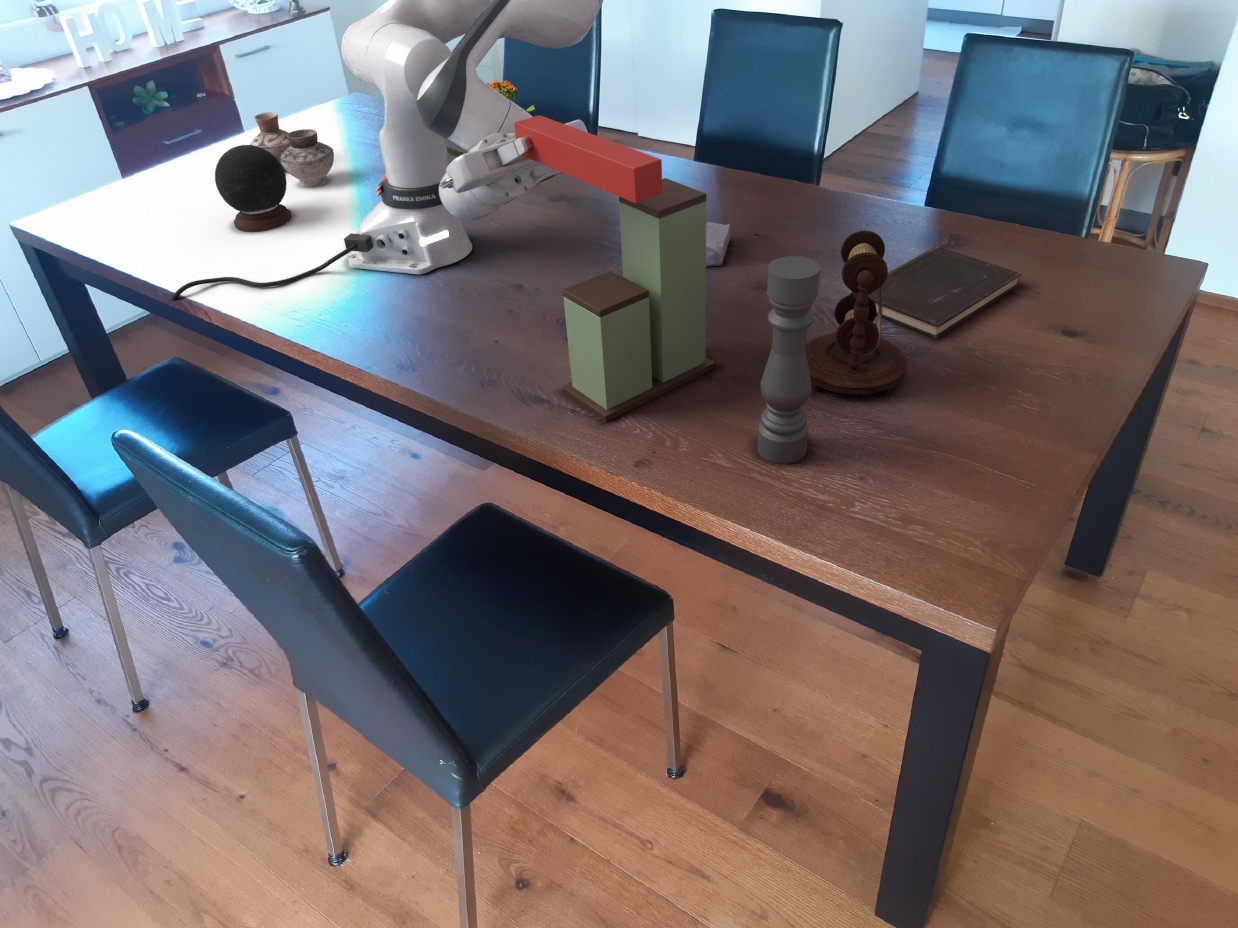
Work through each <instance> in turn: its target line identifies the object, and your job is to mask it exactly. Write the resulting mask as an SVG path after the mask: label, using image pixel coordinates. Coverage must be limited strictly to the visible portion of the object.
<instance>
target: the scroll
mask: <svg viewBox="0 0 1238 928" xmlns="http://www.w3.org/2000/svg"><path fill="white" fill-rule="evenodd" d="M885 252H886V245H885V242H884V240H883V239H882V237H881V236H880V235H879V234H878V233H876V232H874V231H871V230H858V231H855V232H853V233H851V234H849V235H848V236H847V237H846V238H845V239H844V241H843V243H842V245H841V248H840V256H841V260H842V262H843V263H844V264H843V267H842V269H841V279H842V282H843V284H844V286H845V288H846V289H848V290H849V291H850V293H852V294H851V295H850V294H847V295H846V296H844V297H843V298H841V299H840V300H839V301H838V302H837V304H836V306H835V308H834V318H835V321H836V322H837V324H838V325H839V326H838V327H837V329H836V331H835V332H830V333H827V334H823V335H820V336H817V337H814V338H813V339H811V340H809V341H806V346H805V351H806V357H807V362H808V368H809V373H810V378H811V384H812V389H813V390H814V392H818V391H819V390H820V389H824V390H827V391H830V392H833V393H839V394H846V395H870V394H876V393H881V392H883V393H884V395H886V396H888V395H889V394H890V393H891V392H892V389H893V388H894V387H895V386H897V385H898V384H899V383H901V382H902V381H903V380H904V378H905V376H906V374H907V368H908V359H907V357H906V355H905V353H904V352H903V351H902V350H901V349H900V347H899V346H897V345H895V344H894V343H892V342H891V341H888V340H886V339H885V338H882V329H883V327H882V326H883V325H882V324H883V318H882V287H881V286H882V285H883V284H884V282H885V281H886V279H887V275H888V272H889V268H888V265H887V262H886V261H885V259H884V256H885ZM875 290H878V316H877V315H876V314H877V309H876V305H875V303H874V301H873V300H872V299H871V298H869V297H868V296H869V295H871V294H872V293H873V292H874V291H875ZM876 317H877V318H876ZM875 319H876V321H875ZM874 321H875V323H874Z"/></svg>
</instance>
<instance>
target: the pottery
mask: <svg viewBox="0 0 1238 928" xmlns="http://www.w3.org/2000/svg"><path fill="white" fill-rule="evenodd" d="M253 118H254V121H255V122H256V124H257V126H258V128H259V133H258V134H257V135H256V136H255V137H254V138H253V139H252V140H251V142H250V145H254V146H258V147H261V148H263V149H265V150H267V151H268V152H270V153H271V154H273V155H274V156H275V157H276V159H277V160H278V161H279V162H280V164H281V165H282V167H283V169H284V172H287V173H288V174H290V176H292V177H294V178H295V179H297V180H299V184H300V186H302V187H305V188H311V187H313V188H314V187H318V186H321V185H323V184H326V183H327V182H328V176H327V175H328V174H329V172H330V171H331V169H332V167H333V164H334V161H335V152H334V149H333V147H331V146H330V145H328V144H325V143H323V142H321V141H318V139H319V137H318V132H317V130H315V129H311V128H303V129H297V130H292V131H290V132H288V131H286V130H284V129H281V128H280V125H279V115H278V113H277V112H273V111H271V112H268V111H267V112H262V113H258V114H257V115H255V116H253Z"/></svg>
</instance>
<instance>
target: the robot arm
mask: <svg viewBox="0 0 1238 928" xmlns="http://www.w3.org/2000/svg"><path fill="white" fill-rule="evenodd" d="M603 3H604V0H387V1H385V2H384V3H382V5H380V6H379V7H378V8H377V9H376V10H374V11H373V12H371V13H370V14H369V15H367V16H365V17H363V18H360V19H359V20H356V21H355V22H352V23H351V24H350V25H348V26H347V28H346V29H345V31H344V34H343V36H342V39H341V45H340V46H341V47H340V48H341V49H340V50H341V56H342V59H343V63H344V65H345V66H346V67H347V69H348V71H350V73H352V74H353V75H354V77H356V78H357V79H358V80H359V81H360V82H361V83H363V84H364V85H366V86H367V87H368V88H369V87H370V88H372V89H375V90H376V91H379V92H380V93H381V94H382V97H383V100H384V122H383V126H382V128H381V129H380V131H379V134H378V141H379V146H380V151H381V156H382V161H383V166H384V170H385V173H384V175H383V176H382V180H381V181H380V182H379V183H378V187H377V188H376V190H375V191H376V197H381V200H380V201H379V202H378V203H377V204H376V205H375V206H374V207H373V208H372V209H371V210H370V211H369V212H368V213H367V214H366V215H365V216H364V217H363V218H362V220H361V222H360V223H359V226H358V229H357V233H352V232H351V233H349V234H348V235H346V237H344V238H343V242H344V245H345V249H344V250H342V251H340V252H339V253H338V254H335V255H334V256H332V257H331V258H329V259H328V260H327V261H325V262H323V263H322V264H320V265H319V266H317V267H314V268H312V269H309V270H308V271H305V272H302V273H300V274H298V275H294V276H291V277H288V278H285V279H280V280H275V281H274V280H273V281H267V282H266V281H265V282H258V281H257V282H256V281H251V280H248V279H245V278H240V277H237V276H236V277H235V276H221V277H213V278H203V279H197V280H193V281H189V282H187V283H186V284H183V285H182V286H181V287H179V288H178V289H177V290H175V292H174V293H173V295H172V296H171V298H170V302H173V301H176V300H177V299H178V298H179V297H180V296H181V294H183V293H184V292H185V291H187V290H189V289H191V288H193V287H196V286H200V285H207V284H214V283H215V284H217V283H224V282H225V283H226V282H232V283H233V282H234V283H238V284H242V285H246V286H249V287H254V288H269V287H271V288H272V287H276V286H282V285H286V284H291V283H294V282H297V281H299V280H301V279H304V278H307V277H309V276H312V275H314V274H317V273H319V272H321V271H323V270H324V269H326V268H328V267H329V266H331V265H332V264H333V263H336V261H338V260H340V259H341V258H343V257H345V256H346V255H348V257H347V260H348V265H349V267H350V268H351V269H360V270H370V271H380V272H391V273H401V274H409V275H410V274H411V275H425V274H427V273H430V272H431V271H433V270H435V269H438V268H442V267H447V266H448V265H452V264H454V263H458V262H459V261H461V260H463V259H465V258H466V257H467V256H468V255H470V253H471V252H472V250H473V244H472V242H471V240H470V238H469V236H468V233H467V231H466V227H465V225H464V223H463V221H464V220H465V221H474V220H475V221H476V220H479V219H481V218H484V217H486V216H488V215H490V214H492V213H494V212H496V211H497V210H499V209H500V208H501V207H502V206H505V205H507V204H509V203H511V202H512V201H513V200H516V199H517V198H519V197H521V196H522V195H524V194H525V193H527V192H528V191H530V190H531V189H532V188H533V187H535V186H537V185H539V184H541V183H543V182H545V181H547V180H549V179H552V178H553V177H556V176H558V175H559V174H562V172H560V171H558V170H555V169H553V168H550V167H548V166H546V165H543V164H541V163H539V162H536V161H534V160H531V159H529V158H527V157H524V156H522V155H523V154H526V153H529V152H530V151H531V150H533V144H532V142H531V139H530V137H529V136H525V137H522V138H518V139H517V140H516V136H515V127H514V122H518V121H521V120H524V119H528V118H531V117H533V115H532V114H531V113H527V112H526V111H525V110H523V108H522V107H521V106H520V105H518V104H516V103H515V101H513V100H512V99H511V100H509V99H507V98H506V97H504V96H505V95H502V94H503V93H502V94H500V93H499V92H500V91H499V92H497V91H496V90H495V89H493V88H492V87H490V86H489V85H488V84H486V83H487V82H485V81H484V80H483V79H481V77H480V76H479V75H478V72H477V67H478V66H479V65H480V63H481V62H482V61H483V59H485V57H486V55H487V54H488V53H489V52H490V50H491V49H492V47H493V46H494V45H495V44H496V43H497V41H498V40H499V39H513V40H517V41H521V42H525V43H528V44H530V45H533V46H536V47H540V48H544V49H551V50H558V49H559V50H560V49H565V48H570V47H572V46H574V45H576V44H578V43H580V42H581V41H582V40H583V39H584V38H585V37H586V35H588V33H589V31H590V30H591V28H592V27H593V25H594V23H595V21H596V19H597V17H598V14H599V12H600V10H601V7H602V5H603ZM460 37H461V39H460V40H459V41H458V42H457V44H456V45H455V46H454V48H453V49H452V50H451V49H450V47H448V45H447V44H448V43H449V42H451V41H453V40H454V39H457V38H460ZM512 101H513V102H512ZM530 114H531V115H530ZM564 124H565V125H568V126H571V127H573V128H576V129H579V130H582V131H585V132H587V133H589V132H588V129H587V127H586V124H585V123H584V122H583V121H582V119H575V120H573V121H569V122H566V123H564ZM446 139H447V140H449V141H451V142H452V143H453V144H455V145H456V146H457V145H458V146H459V147H461V148H462V149H461V148H460V149H461V150H463V149H464V150H463V151H465V153H464V154H463V155H460V156H458V157H455V158H454V159H453V160H452V161H451V162H450V161H449V153H448V152H447V147H448V145H447V140H446ZM459 147H458V148H459ZM466 151H467V152H466Z"/></svg>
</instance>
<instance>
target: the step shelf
mask: <svg viewBox="0 0 1238 928" xmlns="http://www.w3.org/2000/svg"><path fill="white" fill-rule="evenodd" d="M618 207H619V209H618V210H619V225H620V226H619V228H620V245H621V263H622V276H621V275H620V274H618V273H616V272H614V271H612V270H608V271H606V272H604V273H601V274H599V275H596V276H594V277H592V278H588V279H586V280H584V281H582V282H581V281H580V282H579V283H577V284H573V285H571V286H568V287H566V288H564V289H562V296H563V297H562V298H563V306H564V317H565V326H566V336H567V349H568V357H569V368H570V376H571V378H570V379H571V382H569V383H567V384H565V385H562V393H563V394H565V395H566V396H567V397H570V398H571V399H572V400H573V401H575V402H577V403H578V404H579V405H580V406H582V407H583V408H585V409H586V410H587V411H590V413H592V414H594V415H595V416H596V417H598V418H599V419H601V420H603V421H604V422H605V423H607V422H609V421H611V420H614V419H615V418H618V417H620V416H621V415H623V414H625V413H627V412H629V411H632V410H634V409H636V408H638V407H639V406H641V405H643V404H646V403H648V402H651V401H652V400H653V399H656V398H658V397H660V396H662V395H664V394H666V393H668V392H670V391H672V390H674V389H676V388H678V387H680V386H682V385H684V384H686V383H688V382H691V381H693V380H694V379H696V378H698V377H700V376H702V375H704V374H707V373H709V372H710V371H713V370H714V369H716V362H715V361H714V360H712V359H710V358H708V357H707V356H706V352H707V351H706V350H707V349H706V348H707V347H706V346H707V345H706V344H707V341H706V340H707V339H706V338H707V337H706V335H707V334H706V333H707V330H706V329H707V328H706V327H707V325H706V324H707V310H706V309H707V266H706V222H707V193H705V192H703V191H701V190H698V189H695V188H692V187H691V186H688V185H686V184H683V183H680V182H677V181H674V180H672V179H669V178H667V177H664V178H662V194H660V195H658V196H655V197H652V198H649V199H647V200H644V201H641V202H638V203H634V202H631V201H629V200H626V199H624V198H622V197H619V196H618Z"/></svg>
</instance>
